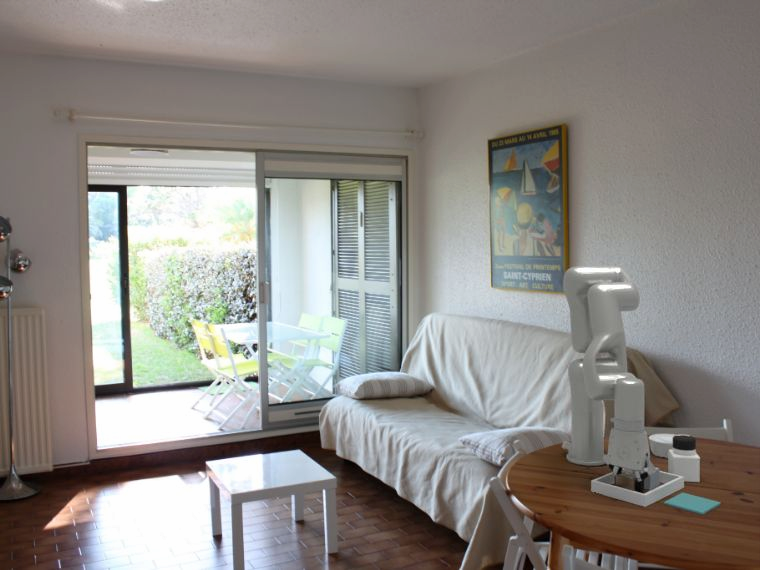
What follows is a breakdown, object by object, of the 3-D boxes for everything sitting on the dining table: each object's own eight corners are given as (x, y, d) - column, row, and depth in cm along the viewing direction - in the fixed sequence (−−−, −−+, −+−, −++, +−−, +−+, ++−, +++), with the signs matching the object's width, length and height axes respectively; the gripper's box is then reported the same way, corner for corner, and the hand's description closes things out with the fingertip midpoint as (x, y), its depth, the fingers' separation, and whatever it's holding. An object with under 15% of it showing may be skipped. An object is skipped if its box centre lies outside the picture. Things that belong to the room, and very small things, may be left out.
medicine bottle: (700, 482, 198) (700, 440, 198) (673, 481, 200) (673, 439, 199) (694, 474, 205) (694, 433, 205) (668, 473, 207) (668, 432, 206)
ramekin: (643, 455, 224) (643, 439, 224) (656, 447, 233) (656, 431, 232) (680, 462, 217) (680, 445, 217) (691, 453, 226) (692, 437, 225)
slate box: (633, 486, 197) (633, 468, 197) (642, 481, 200) (642, 464, 200) (650, 490, 193) (650, 472, 193) (659, 486, 197) (659, 468, 196)
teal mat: (663, 504, 183) (663, 502, 183) (682, 494, 190) (682, 492, 190) (702, 514, 175) (702, 512, 175) (720, 504, 182) (720, 502, 182)
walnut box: (615, 493, 191) (615, 475, 191) (625, 489, 194) (625, 471, 194) (632, 498, 187) (632, 479, 187) (642, 493, 191) (642, 475, 190)
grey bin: (591, 491, 193) (591, 480, 193) (631, 474, 206) (631, 464, 206) (645, 507, 181) (645, 495, 181) (684, 487, 195) (684, 476, 194)
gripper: (593, 421, 194) (593, 487, 195) (652, 433, 181) (652, 503, 182) (608, 416, 199) (608, 481, 200) (666, 428, 186) (666, 496, 187)
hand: (629, 491), depth 191 cm, fingers closed on walnut box, 5 cm apart
